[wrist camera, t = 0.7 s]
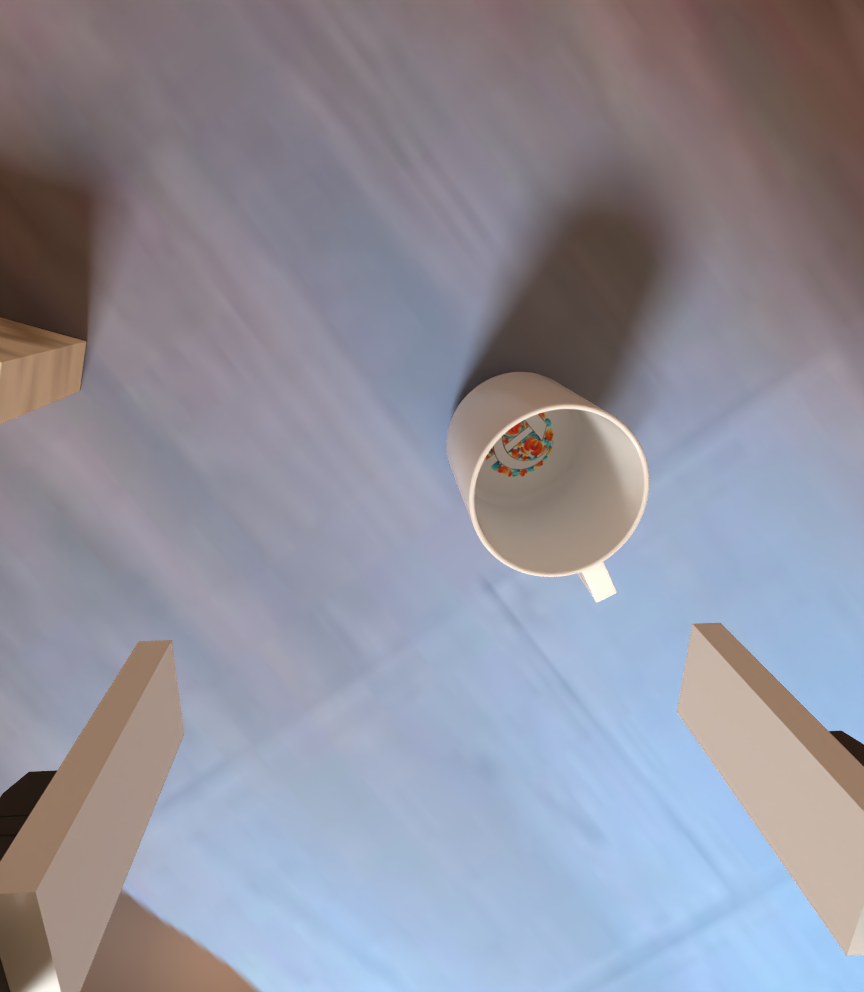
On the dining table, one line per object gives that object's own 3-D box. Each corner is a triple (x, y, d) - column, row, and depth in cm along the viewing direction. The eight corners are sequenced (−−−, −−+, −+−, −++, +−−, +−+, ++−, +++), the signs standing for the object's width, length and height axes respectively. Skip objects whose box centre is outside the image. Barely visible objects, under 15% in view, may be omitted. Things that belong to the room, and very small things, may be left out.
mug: (419, 411, 40) (436, 461, 29) (545, 342, 39) (609, 368, 29) (501, 561, 44) (542, 652, 33) (617, 501, 43) (696, 574, 33)
